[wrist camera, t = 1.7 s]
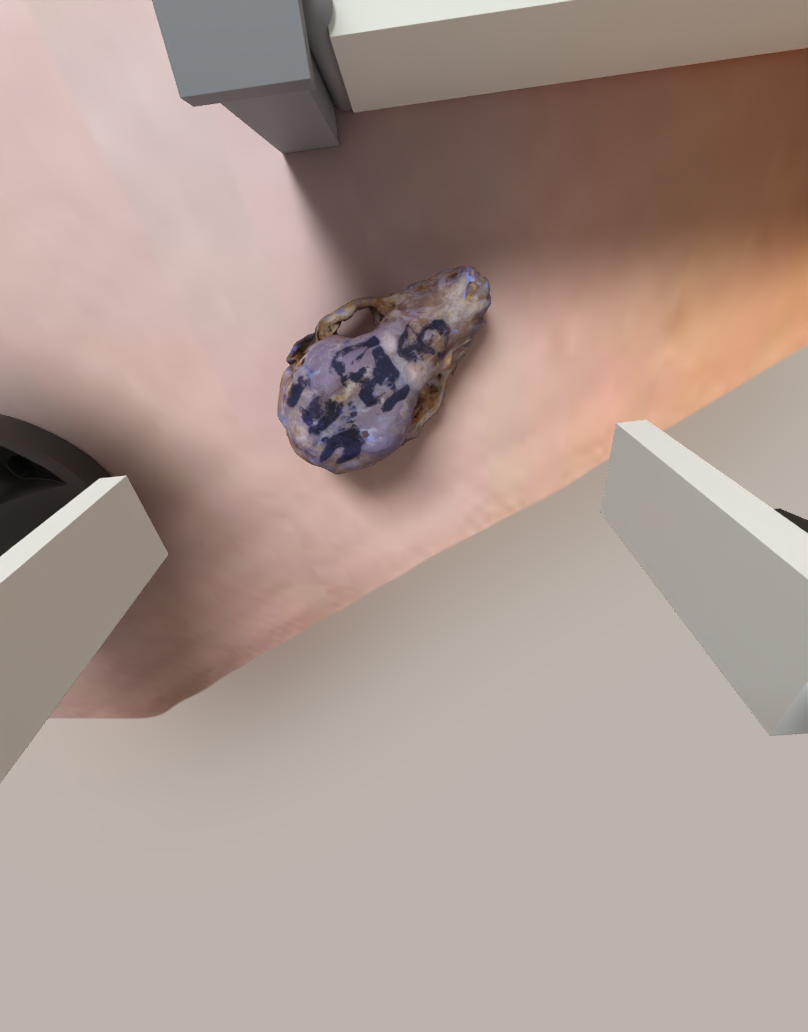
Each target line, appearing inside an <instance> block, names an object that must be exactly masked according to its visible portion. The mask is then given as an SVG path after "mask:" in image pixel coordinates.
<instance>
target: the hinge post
mask: <svg viewBox="0 0 808 1032" xmlns="http://www.w3.org/2000/svg"><path fill="white" fill-rule="evenodd" d="M152 2H153V5H154V9H155V12H156V16H157V19H158V23H159V26H160V30H161V33H162V36H163V40H164V43H165V47H166V50H167V54H168V57H169V61H170V64H171V67H172V71H173V74H174V78H175V81H176V85H177V88H178V91H179V95H180V98H182V99H183V100H185V101H186V102H188V103H189V104H190V105H192V106H193V107H195V106H202V105H209V104H215V103H221V104H222V105H223V106H225V107H226V108H227V109H228V110H230V111H231V112H232V113H233V114H235V115H236V116H237V117H238V118H240V119H241V120H242V121H243V122H244V123H246V124H247V125H248V126H249V127H251V128H252V129H253V130H254V131H256V132H257V133H258V134H259V135H260V136H262V137H263V138H264V139H265V140H267V141H268V142H269V143H270V144H272V145H273V146H274V147H275V148H277V149H278V150H279V151H280V152H281V153H289V152H296V151H304V150H311V149H318V148H325V147H332V146H339V140H338V133H337V126H336V119H335V112H334V105H333V100H332V98H331V95H330V93H329V91H328V88H327V86H326V84H325V81H324V79H323V77H322V74H321V72H320V70H319V67H318V65H317V63H316V60H315V58H314V56H313V53H312V51H311V49H310V47H309V44H308V37H307V31H306V25H305V19H304V12H303V6H302V0H152Z"/></svg>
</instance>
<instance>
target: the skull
mask: <svg viewBox="0 0 808 1032" xmlns="http://www.w3.org/2000/svg"><path fill="white" fill-rule="evenodd" d="M489 291H490V288H489V283H488V280H487V279H486V278H485V277H482V276H481V275H480V274H479V272H477V271H476V270H475V268H474V267H465V266H460V267H457V268H454V269H452V270H449V269H445V270H443V271H442V272H441V273H439V274H437V275H435V276H434V277H432V278H430V279H428V280H426V281H422V282H417V283H414V284H411V285H409V286H408V287H407V288H406V289H405V290H403V291H399V292H396V293H392V294H390V295H389V296H387V297H380V298H377V297H367V298H358V299H356V300H352V301H351V302H349V303H347V304H345V305H344V306H342V307H340V308H339V309H337V310H336V311H335V312H333V313H331V314H328V315H326V316H324V317H323V318H322V319H321V320H320V321H319V323H318V325H317V326H316V329H315V333H313V334H309V335H307V336H306V337H304V338H303V339H301V340H299V341H297V342H296V343H295V344H294V346H293V348H292V350H291V352H290V354H289V355H288V357H287V359H286V361H287V362H288V363H289V364H290V366H289V367H288V368H287V369H286V370H285V372H284V374H283V376H282V379H281V384H280V393H279V400H278V417H279V420H280V421H281V423H282V424H283V425H284V427H285V428H286V432H287V436H288V438H289V441H290V444H291V446H292V448H293V450H294V451H295V453H296V454H297V455H298V456H300V457H301V458H302V459H304V460H305V461H307V462H308V463H310V464H312V465H315V466H319V467H322V468H325V469H327V470H329V471H330V472H332V473H334V474H341V473H345V472H349V471H353V470H358V469H361V468H365V467H368V466H371V465H373V464H374V463H376V462H377V461H379V460H382V459H384V458H385V457H387V456H388V455H390V454H391V453H392V452H394V451H395V450H396V449H397V448H398V447H400V446H401V445H403V444H404V443H406V442H407V441H408V440H412V439H416V438H417V437H419V434H420V431H421V429H422V427H423V425H424V424H425V423H426V422H427V421H428V420H429V419H430V418H431V417H432V416H433V415H434V414H435V413H436V412H437V411H438V410H439V409H440V407H441V405H442V402H443V399H444V394H445V388H446V383H447V380H448V377H449V376H450V374H451V373H452V374H453V373H454V371H455V369H456V367H457V364H458V362H459V360H460V359H461V358H462V357H463V356H464V355H465V353H466V351H467V348H468V347H469V345H470V343H471V341H472V339H473V337H474V336H475V334H476V333H477V332H478V331H479V329H480V328H481V327H482V326H483V325H484V323H485V320H484V319H483V316H484V314H485V312H486V311H487V309H488V307H489V306H490V304H491V296H490V294H489ZM364 308H369V309H370V310H371V312H372V314H373V315H374V321H375V322H376V329H375V330H374V331H372V332H370V333H366V334H362V335H360V336H357V337H355V338H349V337H345V336H342V335H338V333H337V329H338V328H339V327H340V325H341V322H342V321H346V320H348V319H350V318H351V317H352V316H353V314H354V313H355V312H356V311H357V310H361V309H364ZM412 415H415V416H414V417H413V418H412Z"/></svg>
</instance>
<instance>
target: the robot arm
mask: <svg viewBox="0 0 808 1032" xmlns="http://www.w3.org/2000/svg"><path fill="white" fill-rule="evenodd" d="M600 513H601V514H602V515H603V517H604V518H605V520H606V521H607V522H608V524H609V525H610V526H611V528H612V529H613V530H614V532H615V533H616V534H617V535H618V537H619V538H620V539H621V541H622V542H623V543H624V545H625V546H626V547H627V549H628V550H629V551H630V552H631V554H632V555H633V557H634V558H635V559H636V561H637V562H638V563H639V564H640V566H641V567H642V568H643V570H644V571H645V572H646V574H647V575H648V576H649V578H650V579H651V580H652V581H653V583H654V584H655V586H656V587H657V588H658V589H659V591H660V592H661V593H662V595H663V596H664V597H665V599H666V600H667V601H668V603H669V604H670V605H671V606H672V608H673V609H674V611H675V612H676V613H677V614H678V616H679V617H680V618H681V620H682V621H683V622H684V624H685V625H686V626H687V628H688V629H689V630H690V631H691V633H692V634H693V635H694V637H695V638H696V640H697V641H698V642H699V644H700V645H701V646H702V647H703V649H704V650H705V651H706V653H707V654H708V655H709V657H710V658H711V659H712V661H713V662H714V663H715V664H716V666H717V667H718V669H719V670H720V671H721V672H722V674H723V675H724V676H725V678H726V679H727V680H728V682H729V683H730V684H731V686H732V687H733V688H734V690H735V691H736V692H737V694H738V695H739V696H740V697H741V699H742V700H743V701H744V702H745V704H746V705H747V707H748V708H749V709H750V711H751V712H752V713H753V715H754V716H755V717H756V719H757V720H758V721H759V723H760V724H761V725H762V727H763V728H764V729H765V730H766V732H767V733H768V734H769V736H776V735H791V734H805V733H808V520H806V519H803V518H801V517H799V516H796V515H794V514H791V513H789V512H787V511H784V510H782V509H772V508H771V507H770V506H768V505H767V504H765V503H764V502H762V501H761V500H760V499H758V498H757V497H755V496H754V495H752V494H751V493H750V492H748V491H747V490H745V489H744V488H742V487H741V486H740V485H738V484H737V483H735V482H734V481H732V480H731V479H730V478H728V477H727V476H725V475H724V474H723V473H721V472H720V471H718V470H717V469H715V468H714V467H713V466H711V465H710V464H708V463H707V462H705V461H704V460H703V459H701V458H700V457H698V456H697V455H696V454H694V453H693V452H691V451H690V450H688V449H687V448H685V447H684V446H683V445H681V444H680V443H678V442H677V441H676V440H674V439H673V438H671V437H670V436H668V435H667V434H666V433H664V432H663V431H661V430H660V429H659V428H657V427H656V426H654V425H653V424H651V423H650V422H649V421H647V420H641V421H632V422H623V423H616V426H615V432H614V438H613V443H612V449H611V454H610V460H609V466H608V471H607V477H606V482H605V488H604V493H603V499H602V504H601V510H600ZM168 555H169V554H168V552H167V550H166V548H165V547H164V545H163V543H162V541H161V539H160V537H159V535H158V534H157V532H156V530H155V528H154V526H153V524H152V522H151V520H150V519H149V517H148V515H147V513H146V511H145V509H144V507H143V505H142V504H141V502H140V500H139V498H138V496H137V494H136V492H135V491H134V489H133V487H132V485H131V483H130V481H129V479H128V477H127V476H117V477H111V476H110V475H109V474H108V473H107V472H106V471H105V470H104V469H102V468H101V467H100V466H99V465H98V464H97V463H96V462H94V461H93V460H92V459H91V458H90V457H88V456H87V455H86V454H84V453H83V452H82V451H80V450H79V449H77V448H76V447H74V446H73V445H71V444H69V443H68V442H66V441H64V440H63V439H61V438H59V437H57V436H55V435H54V434H52V433H50V432H48V431H46V430H43V429H41V428H39V427H37V426H34V425H32V424H29V423H27V422H24V421H21V420H18V419H15V418H12V417H9V416H5V415H1V414H0V783H1V781H2V780H3V779H4V777H5V776H6V775H7V773H8V772H9V770H10V769H11V768H12V766H13V765H14V764H15V762H16V761H17V760H18V758H19V757H20V756H21V754H22V753H23V752H24V750H25V748H26V747H27V746H28V745H29V743H30V742H31V741H32V739H33V738H34V737H35V735H36V734H37V733H38V731H39V730H40V728H41V727H42V726H43V724H44V723H45V722H46V720H47V719H48V718H49V716H50V715H51V714H52V712H53V711H54V709H55V708H56V707H57V705H58V704H59V703H60V701H61V700H62V699H63V697H64V696H65V695H66V693H67V692H68V690H69V689H70V688H71V686H72V685H73V684H74V682H75V681H76V680H77V678H78V677H79V675H80V674H81V673H82V671H83V670H84V669H85V667H86V666H87V665H88V663H89V662H90V661H91V659H92V658H93V656H94V655H95V654H96V652H97V651H98V650H99V648H100V647H101V646H102V644H103V643H104V642H105V640H106V639H107V637H108V636H109V635H110V633H111V632H112V631H113V629H114V628H115V627H116V625H117V624H118V623H119V621H120V620H121V618H122V617H123V616H124V614H125V613H126V612H127V610H128V609H129V608H130V606H131V605H132V604H133V602H134V601H135V599H136V598H137V597H138V595H139V594H140V593H141V591H142V590H143V589H144V587H145V586H146V584H147V583H148V582H149V580H150V579H151V578H152V576H153V575H154V574H155V572H156V571H157V570H158V568H159V567H160V565H161V564H162V563H163V561H164V560H165V559H166V557H167V556H168Z"/></svg>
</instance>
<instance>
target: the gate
mask: <svg viewBox="0 0 808 1032" xmlns="http://www.w3.org/2000/svg"><path fill="white" fill-rule="evenodd" d="M302 6H303V12H304V19H305V25H306V31H307V37H308V44H309V47H310V49H311V51H312V53H313V56H314V58H315V60H316V63H317V65H318V67H319V70H320V72H321V74H322V77H323V79H324V81H325V84H326V86H327V88H328V91H329V93H330V95H331V98H332V100H333V102H334V104H335V106H336V107H337V108H338V109H339V110H341V111H348V110H350V109H351V108H352V110H353V113H355V112H362V111H369V110H376V109H383V108H390V107H397V106H404V105H411V104H418V103H425V102H432V101H439V100H446V99H453V98H460V97H467V96H474V95H481V94H488V93H495V92H502V91H509V90H516V89H523V88H530V87H537V86H544V85H551V84H558V83H565V82H572V81H579V80H586V79H593V78H600V77H607V76H614V75H621V74H628V73H635V72H642V71H649V70H656V69H663V68H670V67H677V66H684V65H691V64H698V63H705V62H712V61H719V60H726V59H733V58H740V57H747V56H754V55H761V54H768V53H775V52H782V51H789V50H796V49H803V48H808V0H302Z"/></svg>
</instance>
